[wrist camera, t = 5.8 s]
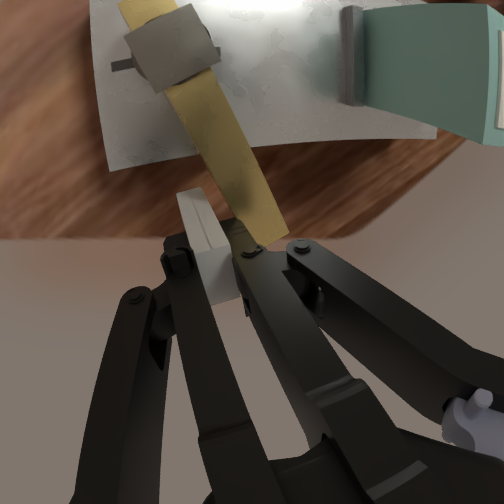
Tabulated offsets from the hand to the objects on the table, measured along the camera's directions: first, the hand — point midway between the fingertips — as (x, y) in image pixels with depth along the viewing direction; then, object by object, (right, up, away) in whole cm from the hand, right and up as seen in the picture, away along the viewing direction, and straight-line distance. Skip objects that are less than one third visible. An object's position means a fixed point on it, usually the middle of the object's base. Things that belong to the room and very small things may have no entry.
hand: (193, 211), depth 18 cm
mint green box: (+14, +11, 0) cm, 18 cm away
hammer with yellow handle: (0, +5, -2) cm, 6 cm away
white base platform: (+5, +12, +2) cm, 14 cm away
